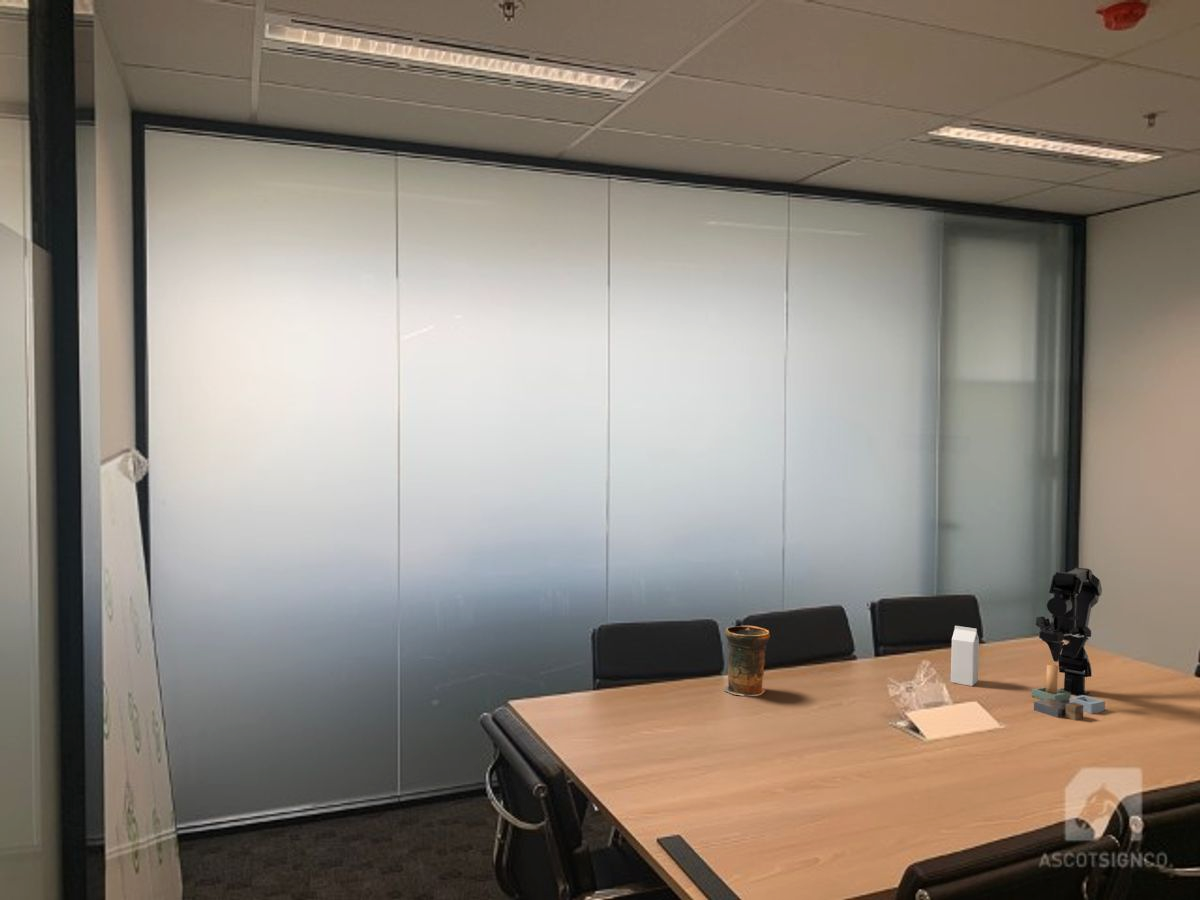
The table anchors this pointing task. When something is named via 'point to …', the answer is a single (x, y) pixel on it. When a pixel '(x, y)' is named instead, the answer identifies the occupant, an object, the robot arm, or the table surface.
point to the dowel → (1051, 679)
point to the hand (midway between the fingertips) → (1064, 660)
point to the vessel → (746, 659)
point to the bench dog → (1074, 711)
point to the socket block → (1089, 703)
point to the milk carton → (964, 656)
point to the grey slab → (1051, 707)
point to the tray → (1043, 695)
